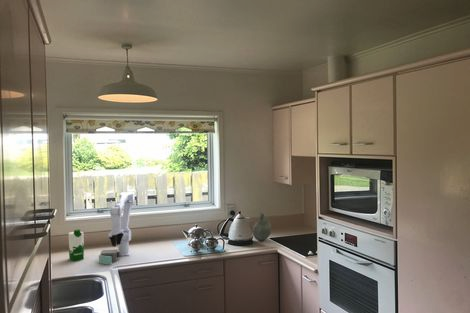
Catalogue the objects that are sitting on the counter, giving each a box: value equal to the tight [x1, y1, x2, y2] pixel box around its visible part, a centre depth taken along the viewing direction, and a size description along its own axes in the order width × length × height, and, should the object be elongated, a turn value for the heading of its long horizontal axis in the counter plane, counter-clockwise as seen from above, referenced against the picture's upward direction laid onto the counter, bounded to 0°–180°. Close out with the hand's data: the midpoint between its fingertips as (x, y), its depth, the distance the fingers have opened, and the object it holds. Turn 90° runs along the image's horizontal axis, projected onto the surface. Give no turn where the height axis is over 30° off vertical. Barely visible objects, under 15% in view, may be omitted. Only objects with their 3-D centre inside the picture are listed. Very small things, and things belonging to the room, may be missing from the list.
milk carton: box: [68, 229, 85, 262], centre depth 253 cm, size 9×9×20 cm
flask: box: [252, 212, 272, 242], centre depth 300 cm, size 12×17×22 cm
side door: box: [98, 254, 113, 266], centre depth 243 cm, size 1×10×5 cm, turn 71°
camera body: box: [99, 248, 121, 263], centre depth 251 cm, size 8×12×6 cm
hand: (116, 245), depth 249 cm, fingers open, 4 cm apart
